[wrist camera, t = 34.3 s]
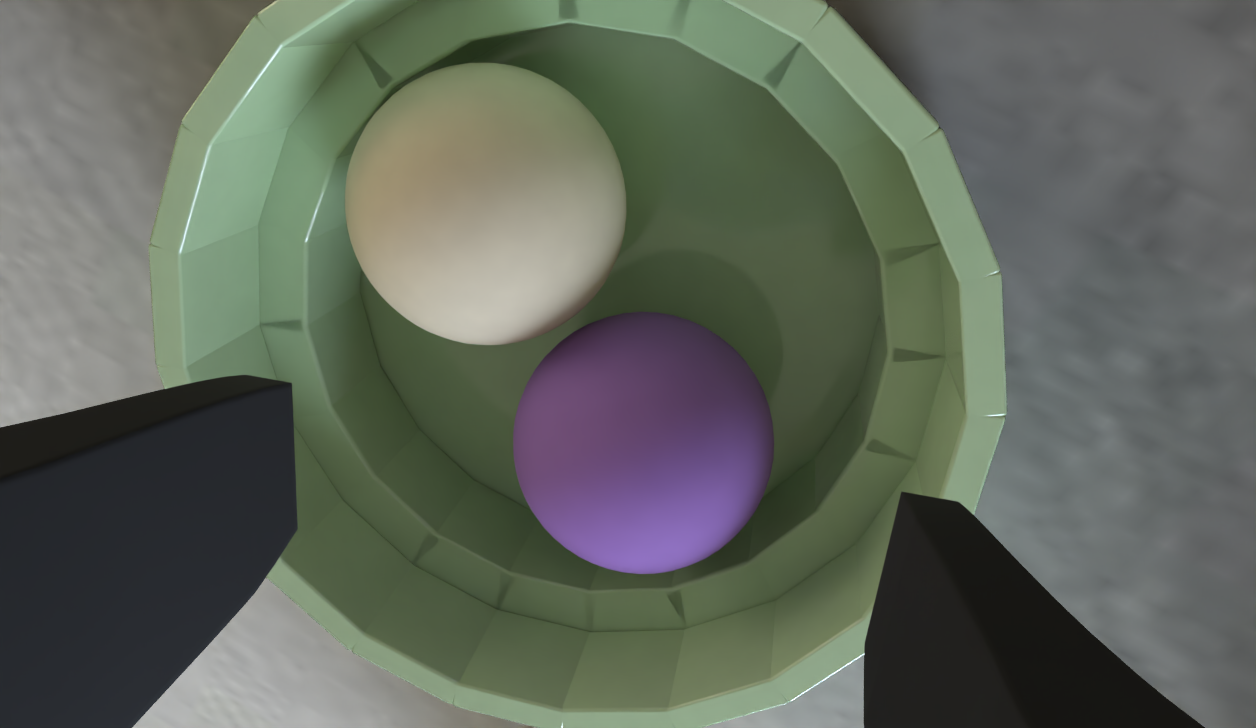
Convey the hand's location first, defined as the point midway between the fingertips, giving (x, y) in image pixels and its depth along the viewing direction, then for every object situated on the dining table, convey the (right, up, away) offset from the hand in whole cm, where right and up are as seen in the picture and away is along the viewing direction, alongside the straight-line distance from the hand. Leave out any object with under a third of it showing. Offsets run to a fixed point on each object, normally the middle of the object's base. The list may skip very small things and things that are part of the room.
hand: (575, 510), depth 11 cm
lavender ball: (+1, 0, +7) cm, 7 cm away
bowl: (0, +3, +9) cm, 10 cm away
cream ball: (-2, +5, +6) cm, 8 cm away
